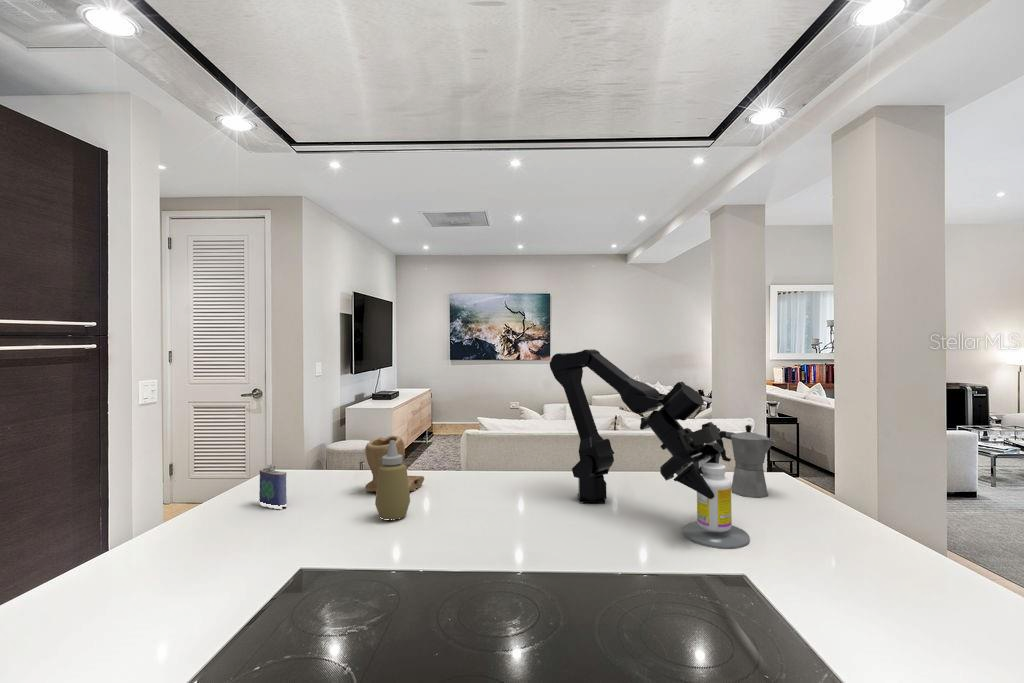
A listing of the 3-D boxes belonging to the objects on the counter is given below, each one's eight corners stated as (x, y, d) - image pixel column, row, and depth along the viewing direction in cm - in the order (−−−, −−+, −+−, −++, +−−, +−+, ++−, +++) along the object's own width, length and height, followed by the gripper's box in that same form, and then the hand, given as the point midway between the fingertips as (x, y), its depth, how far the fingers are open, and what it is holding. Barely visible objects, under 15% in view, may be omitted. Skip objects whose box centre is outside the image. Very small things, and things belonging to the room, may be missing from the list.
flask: (289, 507, 120) (288, 465, 120) (278, 511, 118) (277, 467, 118) (266, 502, 125) (265, 461, 125) (255, 505, 122) (254, 463, 122)
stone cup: (357, 497, 128) (356, 441, 128) (374, 484, 140) (373, 432, 140) (412, 498, 126) (412, 441, 126) (425, 485, 138) (424, 433, 138)
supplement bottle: (732, 523, 102) (732, 463, 102) (730, 535, 96) (729, 471, 96) (699, 518, 105) (698, 460, 105) (694, 529, 99) (694, 467, 99)
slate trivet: (693, 548, 94) (693, 545, 94) (674, 523, 107) (674, 520, 107) (761, 548, 93) (761, 545, 93) (733, 523, 106) (733, 520, 106)
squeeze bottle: (367, 520, 110) (367, 442, 111) (389, 509, 118) (388, 436, 118) (397, 525, 107) (396, 445, 107) (417, 513, 115) (416, 438, 115)
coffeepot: (782, 493, 127) (781, 425, 127) (770, 502, 120) (769, 430, 120) (723, 482, 138) (722, 419, 138) (709, 489, 131) (708, 423, 131)
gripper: (673, 415, 97) (729, 482, 89) (714, 406, 109) (766, 463, 101) (639, 448, 103) (688, 513, 95) (682, 435, 115) (728, 492, 107)
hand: (720, 494), depth 99 cm, fingers closed on supplement bottle, 6 cm apart
